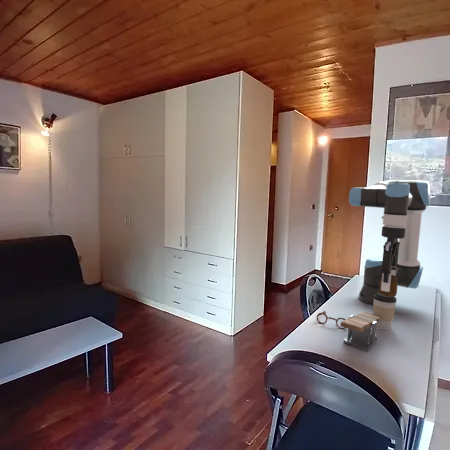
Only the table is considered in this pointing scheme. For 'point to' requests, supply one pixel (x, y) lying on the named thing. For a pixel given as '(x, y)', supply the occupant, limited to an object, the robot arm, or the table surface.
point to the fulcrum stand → (362, 338)
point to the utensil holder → (392, 287)
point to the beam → (361, 321)
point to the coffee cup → (384, 310)
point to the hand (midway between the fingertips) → (387, 288)
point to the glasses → (329, 318)
